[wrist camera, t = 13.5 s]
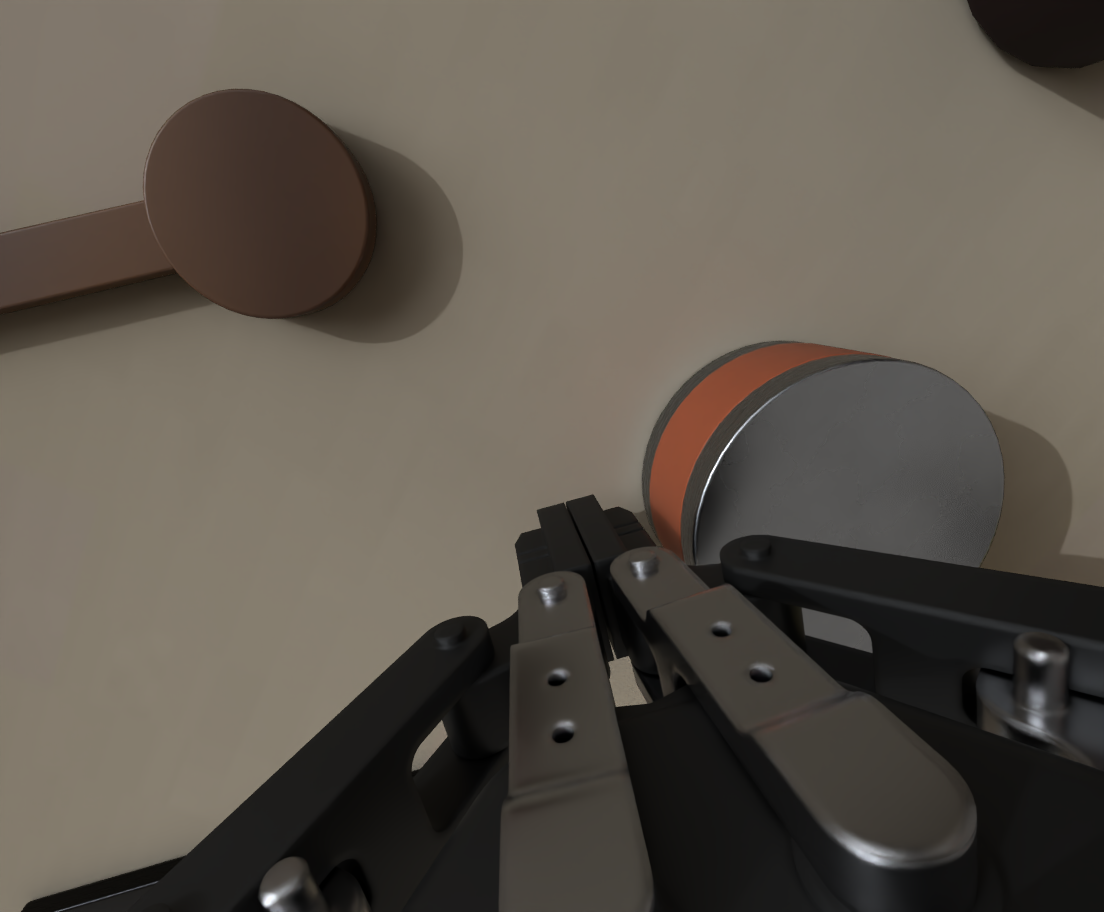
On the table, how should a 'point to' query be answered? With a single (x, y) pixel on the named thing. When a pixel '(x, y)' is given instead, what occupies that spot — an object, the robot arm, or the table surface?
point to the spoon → (216, 217)
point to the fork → (107, 891)
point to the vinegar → (1045, 30)
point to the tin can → (824, 461)
